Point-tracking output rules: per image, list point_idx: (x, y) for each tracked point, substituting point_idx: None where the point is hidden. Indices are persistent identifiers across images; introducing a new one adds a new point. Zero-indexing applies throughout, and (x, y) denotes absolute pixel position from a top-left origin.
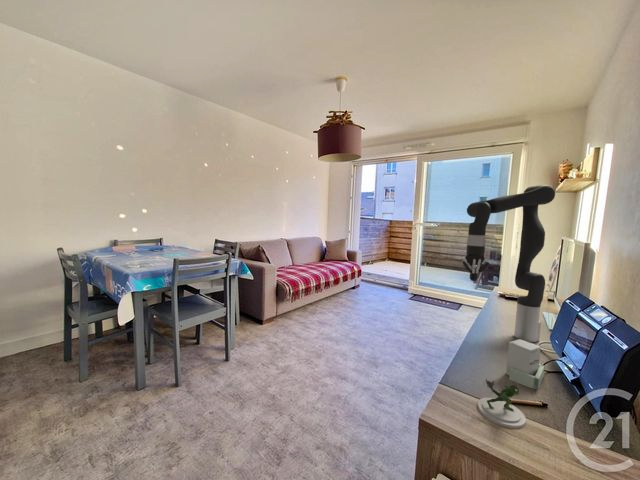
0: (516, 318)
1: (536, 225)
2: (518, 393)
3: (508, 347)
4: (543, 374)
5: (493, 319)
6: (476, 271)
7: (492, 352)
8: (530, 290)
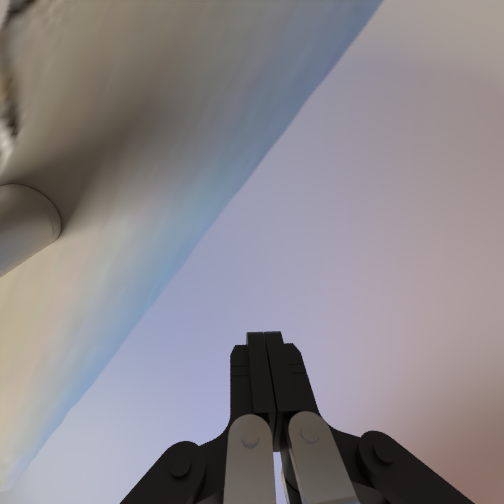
0: (13, 254)
1: None
2: None
3: None
4: None
5: (77, 349)
6: (261, 448)
7: (209, 85)
8: None
